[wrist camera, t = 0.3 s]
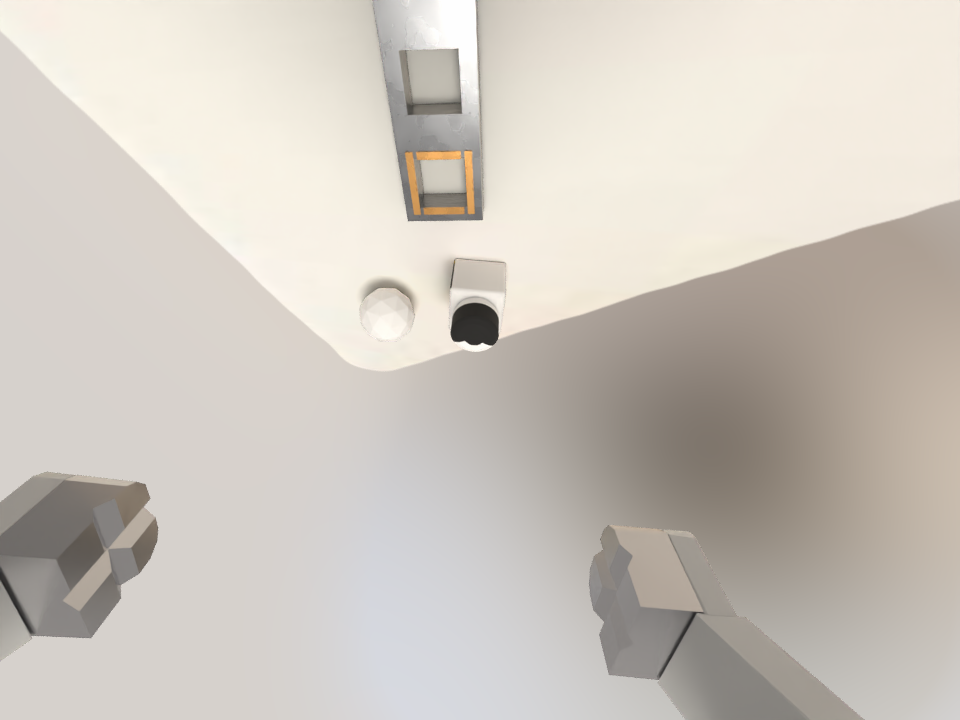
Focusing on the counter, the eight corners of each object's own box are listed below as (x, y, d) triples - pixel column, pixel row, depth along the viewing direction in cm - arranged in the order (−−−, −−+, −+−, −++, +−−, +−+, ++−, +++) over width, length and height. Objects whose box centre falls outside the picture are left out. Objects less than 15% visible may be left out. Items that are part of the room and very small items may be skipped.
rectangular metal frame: (361, -131, 37) (350, -134, 34) (472, -138, 36) (470, -140, 34) (412, 207, 57) (407, 221, 55) (483, 206, 57) (482, 220, 54)
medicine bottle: (454, 257, 62) (446, 313, 54) (506, 262, 63) (506, 318, 54) (452, 299, 68) (445, 356, 59) (500, 303, 68) (499, 360, 59)
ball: (409, 288, 70) (433, 328, 67) (368, 318, 71) (389, 359, 68) (384, 267, 63) (410, 310, 60) (339, 301, 64) (362, 345, 61)
